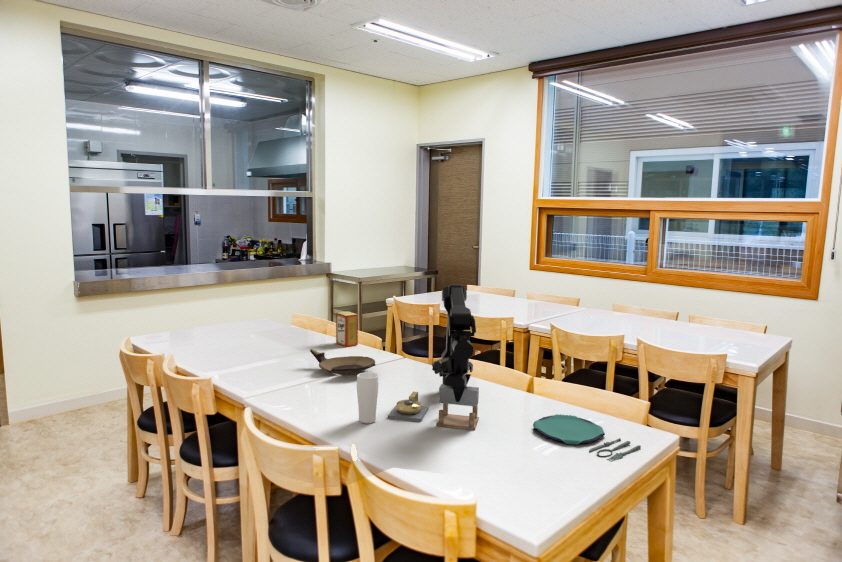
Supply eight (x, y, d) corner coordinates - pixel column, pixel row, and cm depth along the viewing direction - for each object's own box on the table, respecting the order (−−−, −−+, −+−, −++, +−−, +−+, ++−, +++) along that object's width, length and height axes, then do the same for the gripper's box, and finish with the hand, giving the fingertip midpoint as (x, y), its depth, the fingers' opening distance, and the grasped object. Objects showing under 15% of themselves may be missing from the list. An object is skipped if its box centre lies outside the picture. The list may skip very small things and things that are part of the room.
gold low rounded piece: (404, 399, 193) (404, 390, 192) (426, 401, 191) (427, 392, 190) (393, 413, 180) (393, 403, 179) (417, 415, 178) (417, 406, 177)
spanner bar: (438, 402, 175) (439, 387, 174) (441, 399, 178) (441, 384, 178) (476, 406, 172) (477, 391, 171) (478, 402, 176) (478, 387, 175)
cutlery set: (563, 416, 184) (564, 409, 183) (646, 450, 160) (647, 442, 159) (521, 429, 172) (521, 422, 172) (603, 468, 148) (604, 460, 148)
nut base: (397, 406, 189) (397, 403, 189) (428, 409, 187) (428, 407, 187) (387, 418, 179) (387, 415, 178) (420, 421, 176) (421, 418, 176)
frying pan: (341, 385, 211) (341, 366, 210) (301, 368, 233) (301, 350, 232) (387, 374, 226) (387, 356, 225) (345, 359, 248) (345, 342, 247)
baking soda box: (357, 345, 273) (357, 313, 271) (346, 347, 269) (346, 314, 267) (347, 341, 280) (347, 310, 278) (336, 343, 276) (336, 312, 274)
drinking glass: (358, 426, 172) (358, 379, 170) (355, 418, 178) (355, 372, 176) (380, 424, 174) (380, 377, 172) (375, 416, 180) (376, 371, 178)
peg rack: (442, 415, 182) (442, 401, 181) (478, 419, 179) (479, 405, 178) (436, 425, 173) (437, 411, 172) (474, 430, 170) (475, 415, 170)
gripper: (440, 342, 184) (439, 388, 186) (428, 357, 166) (427, 407, 168) (473, 345, 181) (472, 391, 183) (465, 360, 163) (463, 411, 165)
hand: (458, 399), depth 175 cm, fingers closed on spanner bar, 4 cm apart
